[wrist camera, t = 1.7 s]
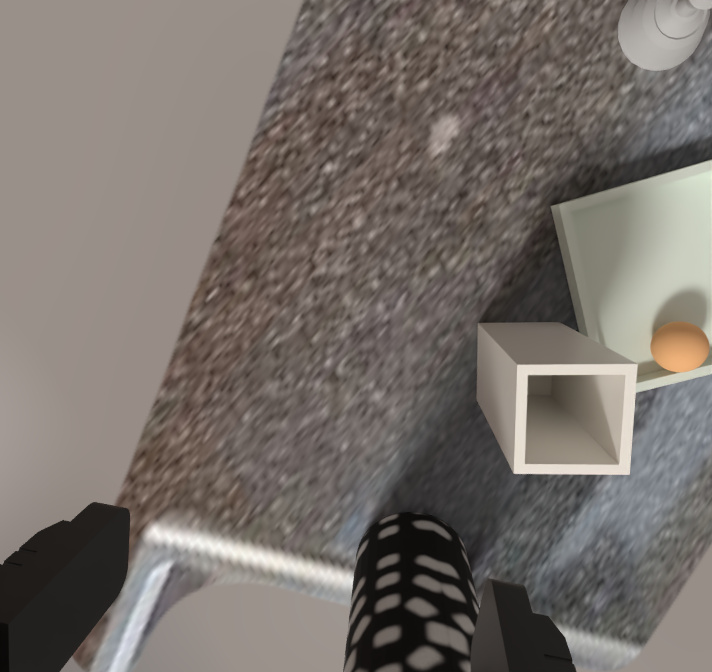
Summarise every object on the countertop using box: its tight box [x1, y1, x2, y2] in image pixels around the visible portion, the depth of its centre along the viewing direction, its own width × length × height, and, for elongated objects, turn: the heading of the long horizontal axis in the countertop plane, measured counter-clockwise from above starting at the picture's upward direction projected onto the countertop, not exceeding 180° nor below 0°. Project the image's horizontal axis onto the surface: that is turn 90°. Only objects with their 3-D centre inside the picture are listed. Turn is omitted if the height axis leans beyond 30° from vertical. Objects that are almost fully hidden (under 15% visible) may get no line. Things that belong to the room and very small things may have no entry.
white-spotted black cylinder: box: [343, 512, 480, 672], centre depth 31 cm, size 8×8×20 cm
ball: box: [650, 321, 710, 372], centre depth 34 cm, size 3×3×3 cm
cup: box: [477, 322, 638, 475], centre depth 32 cm, size 5×5×12 cm
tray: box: [551, 159, 712, 393], centre depth 35 cm, size 13×10×2 cm
